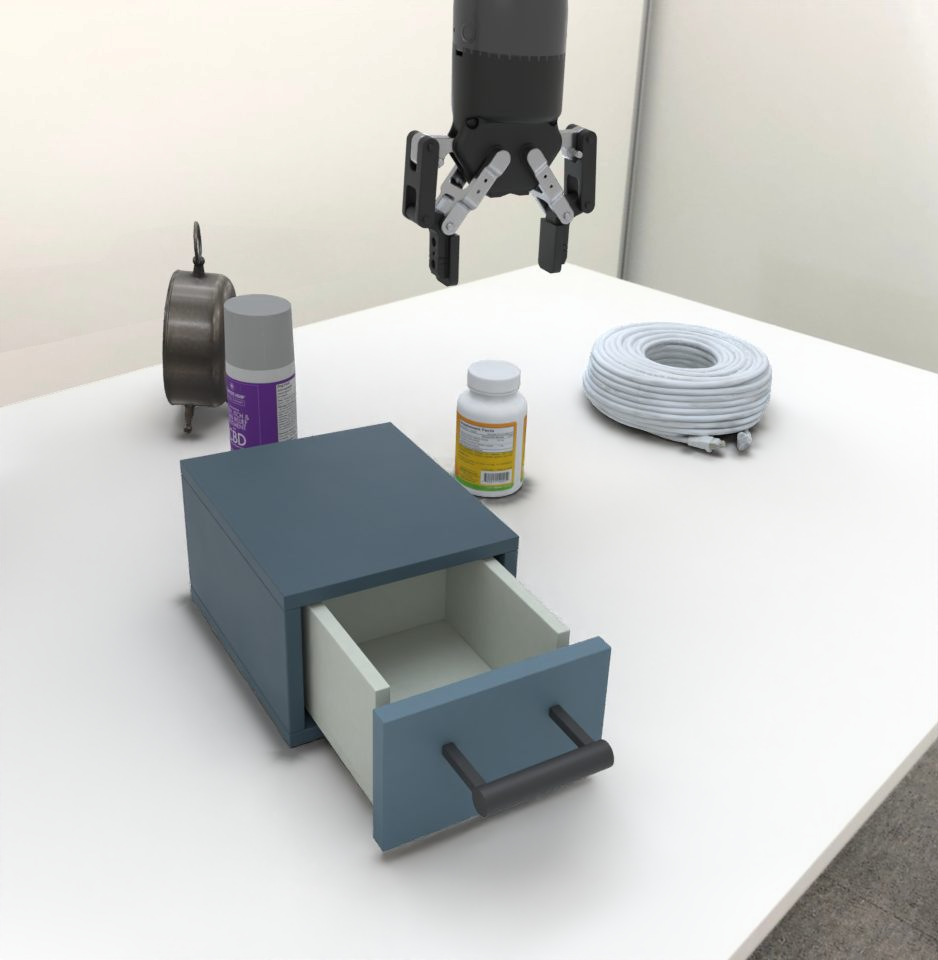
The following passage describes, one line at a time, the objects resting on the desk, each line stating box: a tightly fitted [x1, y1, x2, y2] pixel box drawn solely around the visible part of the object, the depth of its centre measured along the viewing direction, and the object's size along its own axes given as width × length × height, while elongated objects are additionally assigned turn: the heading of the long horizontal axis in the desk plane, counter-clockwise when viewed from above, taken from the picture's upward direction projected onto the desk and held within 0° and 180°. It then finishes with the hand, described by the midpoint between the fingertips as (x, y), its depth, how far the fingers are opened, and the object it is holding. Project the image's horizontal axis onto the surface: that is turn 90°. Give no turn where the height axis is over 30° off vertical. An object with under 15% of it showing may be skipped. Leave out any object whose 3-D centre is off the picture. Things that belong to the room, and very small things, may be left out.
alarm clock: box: [161, 220, 237, 434], centre depth 97 cm, size 11×5×16 cm, turn 10°
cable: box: [581, 321, 773, 453], centre depth 110 cm, size 18×18×6 cm
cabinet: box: [179, 421, 520, 749], centre depth 72 cm, size 17×14×10 cm
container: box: [224, 293, 299, 451], centre depth 85 cm, size 5×5×15 cm
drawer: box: [301, 556, 615, 853], centre depth 63 cm, size 20×13×8 cm, turn 36°
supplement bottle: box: [454, 359, 528, 498], centre depth 92 cm, size 5×5×10 cm
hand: (499, 276), depth 86 cm, fingers open, 8 cm apart
